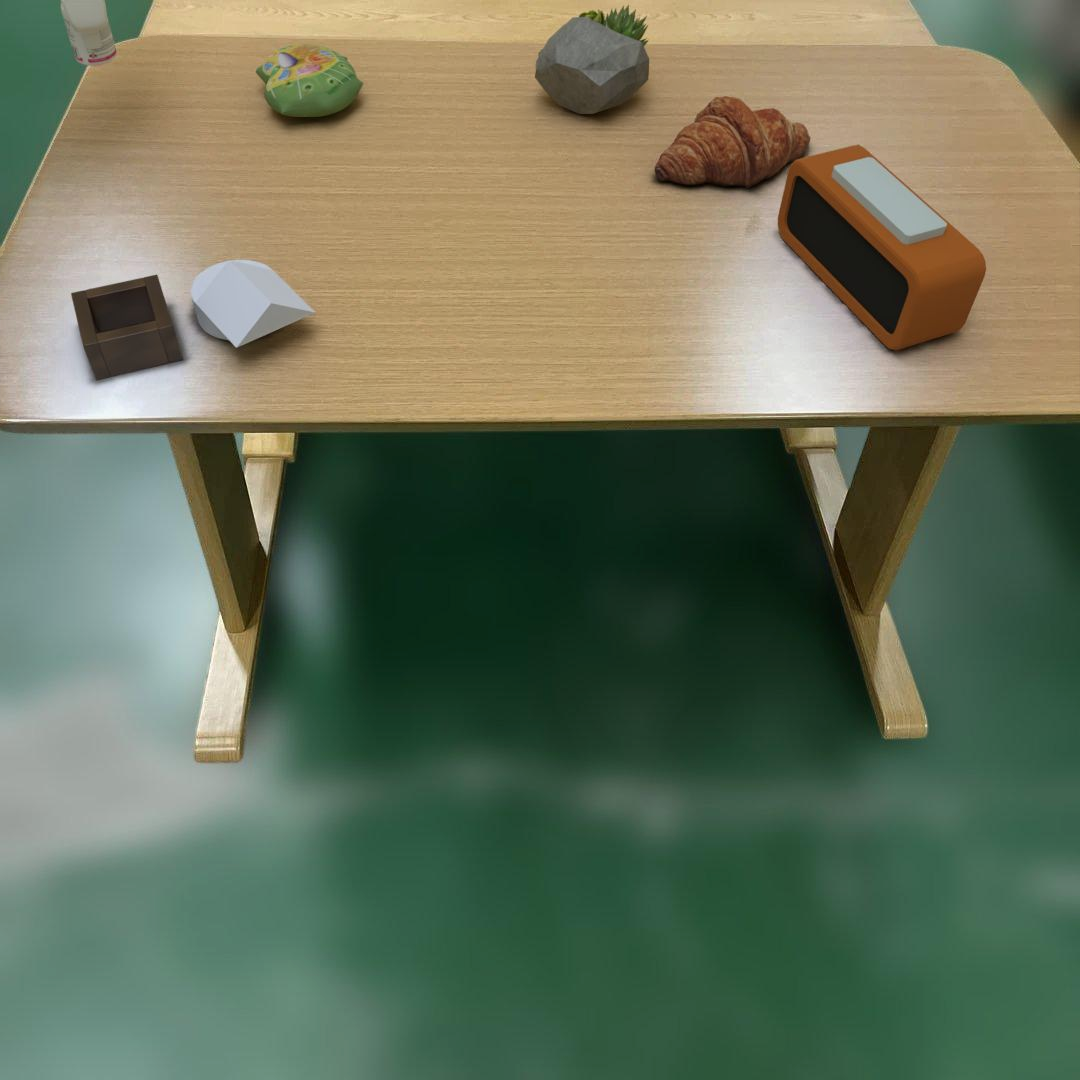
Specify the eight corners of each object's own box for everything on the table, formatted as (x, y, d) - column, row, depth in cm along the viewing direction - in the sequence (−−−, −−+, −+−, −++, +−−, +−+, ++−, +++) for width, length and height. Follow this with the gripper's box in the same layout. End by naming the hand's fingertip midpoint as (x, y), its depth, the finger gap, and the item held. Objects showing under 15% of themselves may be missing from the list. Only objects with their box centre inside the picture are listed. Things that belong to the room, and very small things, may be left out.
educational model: (345, 61, 151) (341, 21, 147) (374, 121, 141) (370, 81, 137) (252, 75, 148) (245, 35, 144) (275, 137, 138) (268, 96, 134)
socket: (96, 380, 110) (82, 345, 107) (83, 327, 115) (70, 292, 111) (183, 359, 112) (172, 325, 109) (167, 308, 117) (157, 274, 114)
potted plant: (513, 75, 143) (574, 1, 148) (582, 148, 147) (639, 74, 152) (557, 34, 132) (621, -45, 137) (630, 114, 136) (690, 35, 141)
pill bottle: (124, 49, 132) (105, -23, 125) (107, 69, 129) (87, -5, 122) (86, 45, 132) (65, -28, 126) (68, 64, 129) (46, -10, 123)
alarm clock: (773, 231, 129) (793, 142, 120) (833, 215, 131) (857, 127, 122) (895, 359, 115) (928, 269, 106) (960, 339, 117) (997, 249, 109)
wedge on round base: (319, 338, 115) (257, 275, 121) (311, 285, 110) (246, 222, 116) (242, 373, 111) (182, 306, 117) (229, 321, 106) (167, 253, 112)
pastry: (698, 115, 144) (706, 56, 138) (811, 145, 140) (826, 85, 134) (650, 181, 134) (657, 120, 128) (771, 215, 131) (785, 154, 124)
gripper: (12, -128, 123) (50, -2, 133) (35, -52, 111) (74, 80, 122) (71, -134, 124) (103, -9, 135) (100, -60, 113) (133, 71, 123)
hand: (90, 34), depth 128 cm, fingers closed on pill bottle, 5 cm apart
